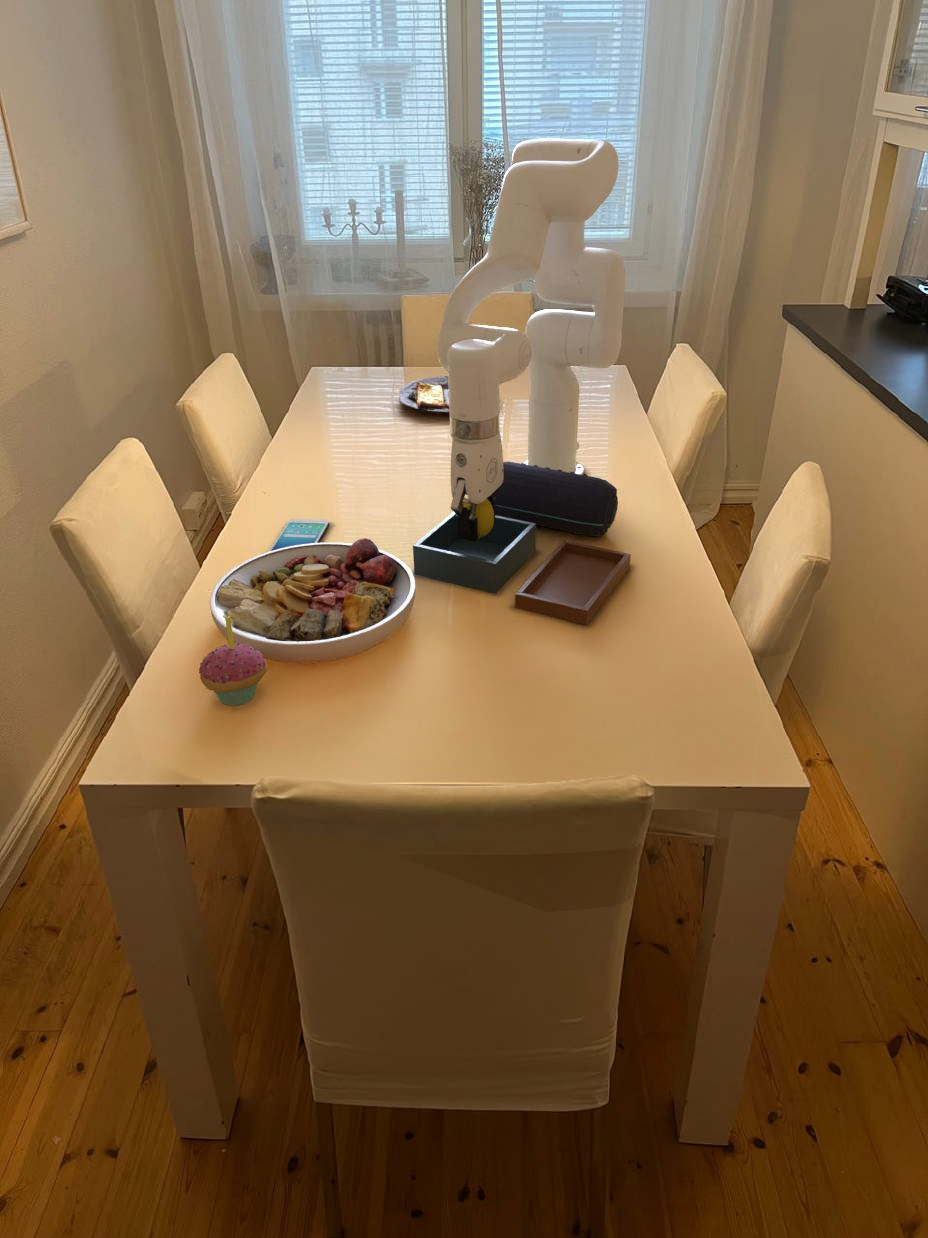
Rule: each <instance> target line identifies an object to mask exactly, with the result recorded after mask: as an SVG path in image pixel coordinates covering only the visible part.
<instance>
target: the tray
mask: <svg viewBox="0 0 928 1238" xmlns="http://www.w3.org/2000/svg"><path fill="white" fill-rule="evenodd" d="M631 556H632V555H631V553H629V552H623V551H619V550H614V549H608V548H604V547H599V546H594V545H591V544H585V543H584V544H583V543H579V542H575V541H569V540H563V541H562V542H560V544H559V545H558V546H557V547H556V548H555V549H554V550H553V551H552V553H550V555H549V556H548V557H547V558H546V559H545V560H544V561H543V562H542V563H541V564H540V566H539V567H538V568H537V569H536V570H535V571H534V572H533V573H532V575H530V577H528V579H527V580H526V581H525V582H524V583H523V584H522V585H521V587H520V588H519V589H518V590H517V591H515V593H514V608H515V609H518V610H522V611H526V612H531V613H534V614H539V615H542V616H547V617H551V618H555V619H558V620H559V619H560V620H563V621H568V622H572V623H575V624H580V625H583V626H587V625H588V624H589V622H591V620H592V619H593V618H594V616H595V615H596V613H597V612H598V611H599V609H600V608H601V607H602V605H603V604H604V603H605V601H606V600H607V598H608V597H609V596H610V594H611V593H612V592H613V590H615V588H616V586H617V585H618V584H619V582H620V581H621V580H622V578H623V577H624V576H625V574H626V573H627V572H628V570H629V569H630V568H631Z"/></svg>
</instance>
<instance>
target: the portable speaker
mask: <svg viewBox="0 0 928 1238" xmlns="http://www.w3.org/2000/svg"><path fill="white" fill-rule="evenodd" d="M503 470H504V480H503V483H502V484H501V485H500V486H499V488H497V489H496V490H495V492H496V499H495V501H494V502H495V515H497V516H501V517H506V518H511V519H516V520H521V521H526V522H531V523H536V526H540V527H543V528H544V527H545V528H549V529H555V530H558V531H562V532H567V533H572V534H577V535H581V536H586V537H590V536H591V537H601V536H605V535H606V534H607V532H608V530H609V529H610V528H611V526H612V525H613V523H614V521H615V519H616V516H617V511H618V507H619V500H618V489H617V487H615V486H614V485H613V484H612V483H611V482H609V481H607V480H606V479H603V478H600V477H596V476H590V475H588V474H586V473H584V474H582V475H580V474H575V473H574V472H570V473H569V472H563V471H562V470H559V469H558V470H553V469H550V468H548V467H546V468H542V467H538V466H537V465H534V466H531V465H526V464H525V463H524V462H521V463H519V462H514V461H503ZM492 501H493V500H492Z"/></svg>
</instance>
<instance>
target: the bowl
mask: <svg viewBox="0 0 928 1238" xmlns="http://www.w3.org/2000/svg"><path fill="white" fill-rule="evenodd" d="M414 576H415V575H414V573H413V572H412V570H411V568H409V567H408V566H407V564H405V563H404V561H402V560H400V559H399V558H398V557H397V556H395V555H394V554H393V555H392V554H391V553H389V552H386V551H384V550H382V549H379V548H378V546H377V545H376V544H375V543H374V541H372V540H371V539H369V538H367V537H366V538H365V537H364V538H359V539H357V540H355V541H354V542H352V543H348V542H347V543H346V542H319V543H310V544H301V545H295V546H289V547H285V548H280V549H277V550H273V551H270V552H269V551H267V552H263V553H261V554H258V555H255V556H253V557H251V558H249V559H247V560H245V561H243V562H241V563H239V564H237V565H235V566H234V567H233V568H231V569H230V570H229V571H228V572H226V573H225V574H224V575H223V576H222V577H221V578H220V579H219V580H218V581H217V583H216V584H215V586H214V587H213V589H212V591H211V594H210V598H209V608H210V613H211V617H212V620H213V623H214V624H215V626H216V628H217V630H218V631H219V632H220V634H221V635H222V636H223V637H224V638H225V639H226V641H228V635H227V628H226V621H225V617H226V616H227V615H226V610H227V611H228V616H230V619H231V626H232V633H233V641H234V643H240V644H244V645H248V646H250V647H251V646H253V647H254V648H256V650H258V651H261V654H262V655H263V657H264V659H265V660H269V661H273V662H278V663H290V664H291V663H292V664H313V663H315V664H316V663H323V662H329V661H336V660H340V659H345V658H348V657H352V656H354V655H358V654H360V653H362V652H365V651H368V650H369V649H372V648H374V647H376V646H378V645H379V644H381V643H383V642H385V641H386V640H387V639H389V638H390V637H392V636H393V635H394V634H395V633H396V632H397V631H398V630H399V629H401V627H402V626H403V625H404V624H405V622H407V620H408V618H409V616H410V614H411V612H412V610H413V608H414V604H415V601H416V594H417V593H416V589H417V588H416V578H415V577H414Z"/></svg>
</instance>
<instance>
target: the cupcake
mask: <svg viewBox="0 0 928 1238" xmlns="http://www.w3.org/2000/svg"><path fill="white" fill-rule="evenodd" d="M226 615H227V616H226V617H225V621H226V628H227V635H228V640H227V642H228V643H227V644H224V645H221V646H219V647H215V648H214V649H213V650H212V651H210V652H209V653H207V655H206V656H204V657H203V658H202V662H200V663H199V669H198V670H199V672H198V673H199V678H200V681H201V683H202V684H203V685H204V687H205V688H206V689H207V690H209V691H212V692H214V694H215V695H216V697H217V698H218V700H219V702H220V703H221V704H223V705H225V706H230V707H238V706H243V705H245V704H247V703H249V702H251V701H252V700H253V699H254V698H255V696H256V694H257V687H258V683H259V682H260V681H261V680H262V678H263V677H264V675H265V674H266V673H267V670H268V666H267V662H266V659H264V657H263V655H262V654H261V651H258V650H256V648H254V647H253V646H251V647H250V646H248V645H244V644H240V643H234V641H233V633H232V626H231V619H230V616H228V611H227V610H226Z"/></svg>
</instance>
